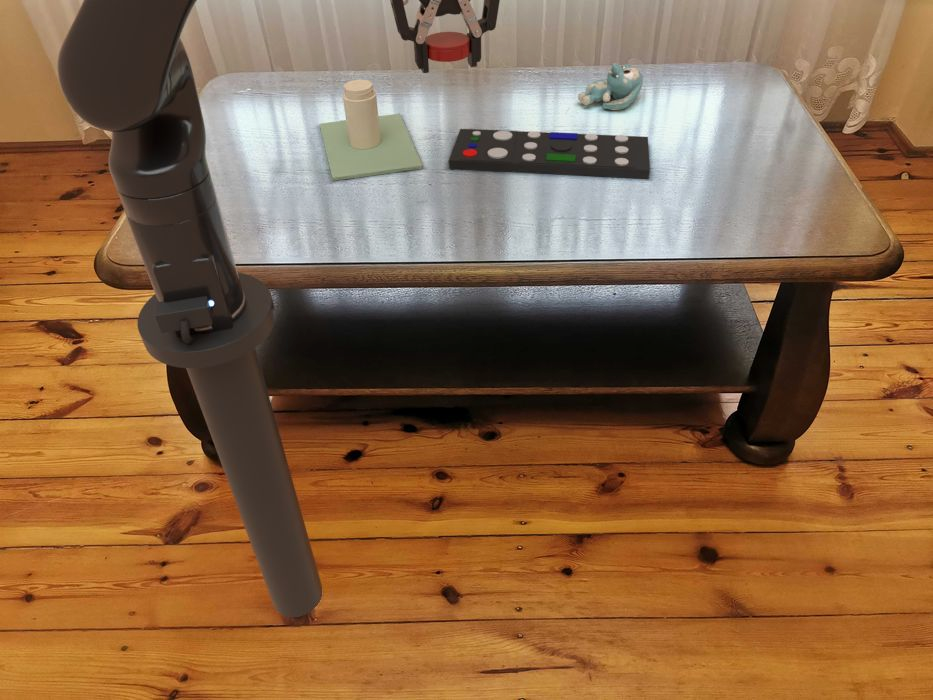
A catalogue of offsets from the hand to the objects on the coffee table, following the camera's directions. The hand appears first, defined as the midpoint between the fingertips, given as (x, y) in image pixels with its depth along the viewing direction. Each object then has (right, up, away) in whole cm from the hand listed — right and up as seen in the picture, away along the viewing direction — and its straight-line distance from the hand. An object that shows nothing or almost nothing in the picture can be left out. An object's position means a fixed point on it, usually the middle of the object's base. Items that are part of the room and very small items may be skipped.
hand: (448, 67), depth 96 cm
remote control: (+15, -6, +22) cm, 28 cm away
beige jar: (-14, -2, +26) cm, 30 cm away
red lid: (0, +2, -2) cm, 3 cm away
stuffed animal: (+28, +8, +37) cm, 47 cm away
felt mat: (-14, -3, +26) cm, 30 cm away
